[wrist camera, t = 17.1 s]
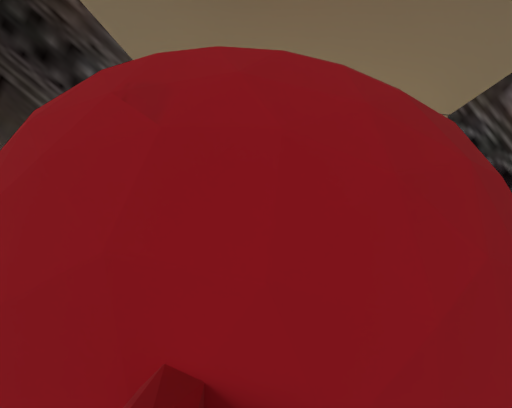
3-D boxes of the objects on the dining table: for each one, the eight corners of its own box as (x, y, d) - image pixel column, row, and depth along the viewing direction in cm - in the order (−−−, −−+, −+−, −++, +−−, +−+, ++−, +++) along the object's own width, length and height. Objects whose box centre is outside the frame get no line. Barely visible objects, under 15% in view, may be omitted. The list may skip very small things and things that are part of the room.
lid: (-197, -222, 6) (-171, -316, 6) (146, 100, 21) (151, 71, 21) (1054, -196, 4) (1051, -332, 4) (447, 137, 19) (450, 105, 20)
